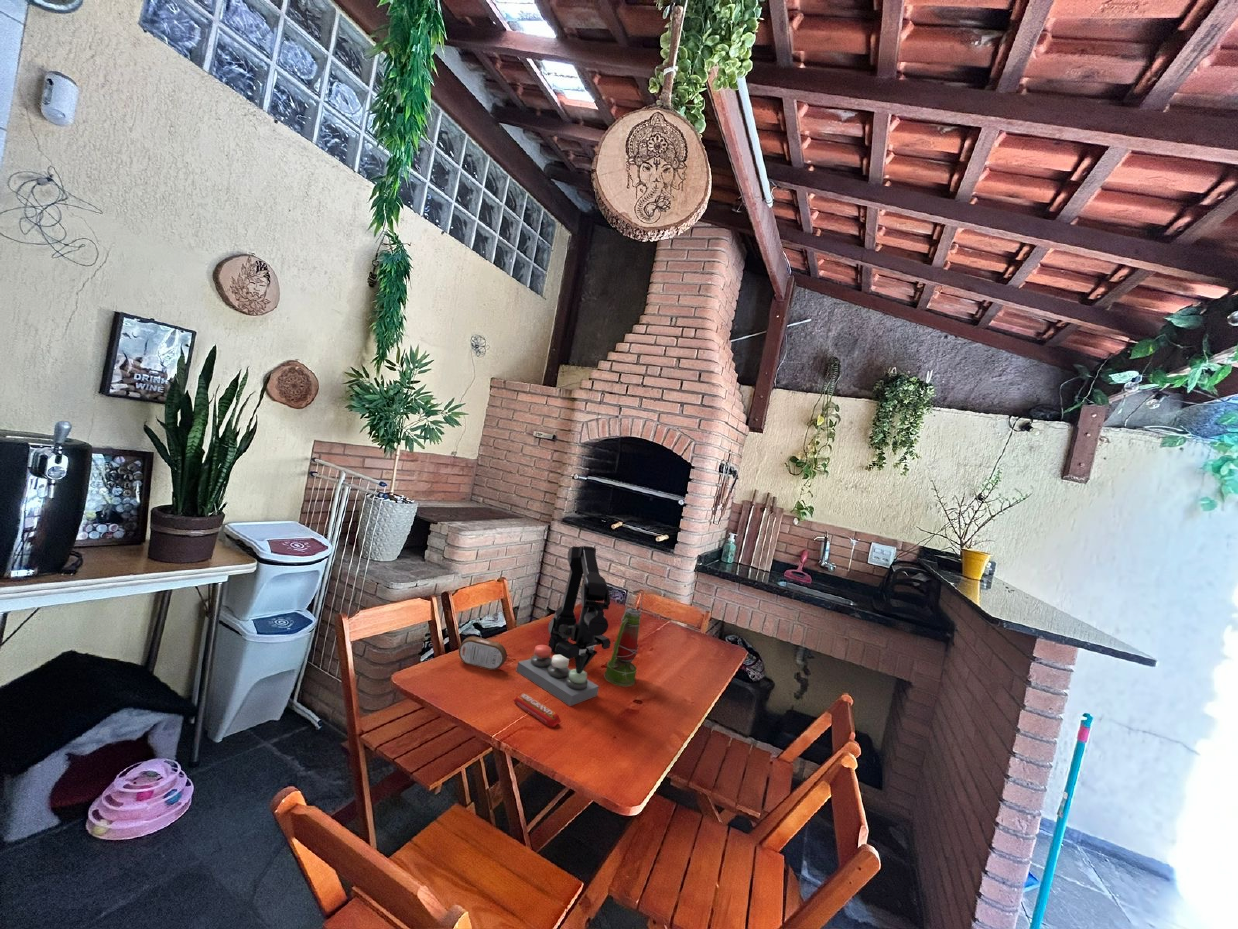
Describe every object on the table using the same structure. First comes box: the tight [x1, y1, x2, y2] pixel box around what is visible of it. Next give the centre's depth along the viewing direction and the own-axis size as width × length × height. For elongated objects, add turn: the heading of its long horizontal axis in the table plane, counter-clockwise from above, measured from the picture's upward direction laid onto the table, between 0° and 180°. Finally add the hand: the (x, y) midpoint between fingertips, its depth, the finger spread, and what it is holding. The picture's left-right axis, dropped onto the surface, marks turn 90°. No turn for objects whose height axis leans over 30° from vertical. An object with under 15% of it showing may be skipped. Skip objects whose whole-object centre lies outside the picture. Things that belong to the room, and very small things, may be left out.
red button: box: [533, 644, 552, 658], centre depth 167 cm, size 5×5×2 cm
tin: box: [458, 636, 508, 671], centre depth 163 cm, size 15×3×8 cm, turn 84°
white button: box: [551, 654, 570, 668], centre depth 162 cm, size 5×5×2 cm
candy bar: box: [513, 692, 562, 728], centre depth 142 cm, size 16×4×3 cm, turn 53°
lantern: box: [603, 589, 644, 687], centre depth 174 cm, size 14×11×30 cm
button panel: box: [516, 654, 600, 707], centre depth 162 cm, size 12×24×4 cm, turn 51°
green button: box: [569, 668, 588, 684], centre depth 157 cm, size 5×5×2 cm
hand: (578, 673), depth 157 cm, fingers closed, pressing on green button
